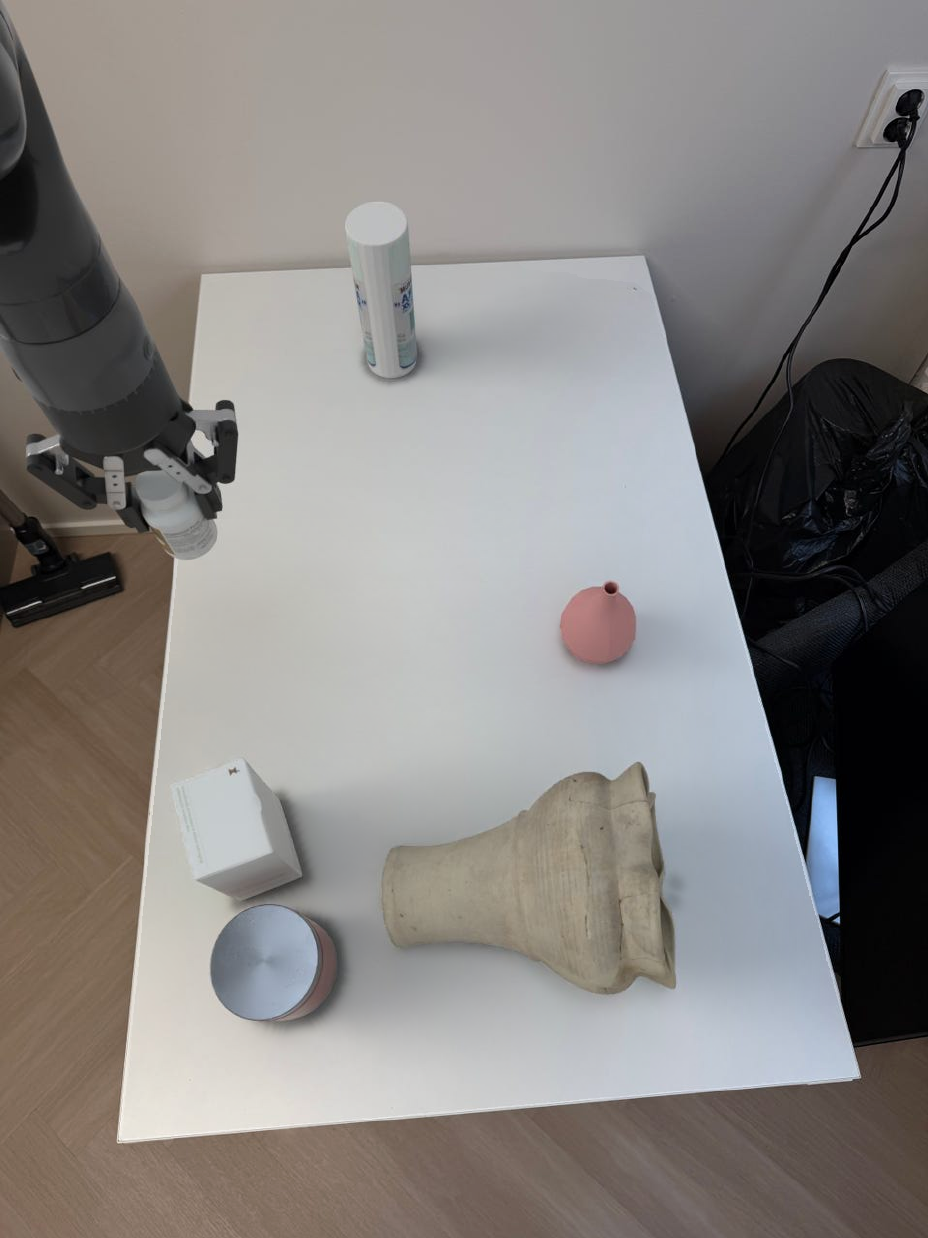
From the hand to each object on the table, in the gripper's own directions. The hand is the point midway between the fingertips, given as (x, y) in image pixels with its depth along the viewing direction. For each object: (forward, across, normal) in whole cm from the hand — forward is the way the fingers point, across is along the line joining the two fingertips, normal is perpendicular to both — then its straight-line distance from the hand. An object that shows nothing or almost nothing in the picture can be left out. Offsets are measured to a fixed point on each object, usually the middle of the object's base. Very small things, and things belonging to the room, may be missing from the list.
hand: (177, 515), depth 63 cm
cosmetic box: (+27, +2, +20) cm, 34 cm away
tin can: (+27, +1, +31) cm, 41 cm away
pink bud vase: (+27, -35, +6) cm, 44 cm away
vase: (+27, -21, +29) cm, 44 cm away
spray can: (+27, -21, -36) cm, 50 cm away
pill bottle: (+4, 0, 0) cm, 4 cm away
